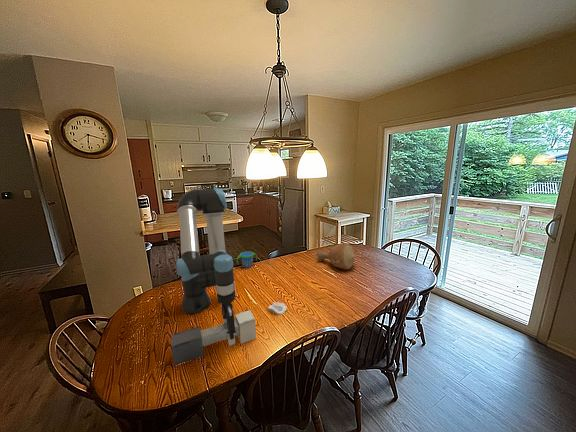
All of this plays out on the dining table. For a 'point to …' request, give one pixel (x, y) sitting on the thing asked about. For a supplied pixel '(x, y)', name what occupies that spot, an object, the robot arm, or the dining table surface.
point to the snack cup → (246, 258)
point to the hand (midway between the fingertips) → (229, 337)
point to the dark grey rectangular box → (187, 345)
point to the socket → (246, 326)
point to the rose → (278, 308)
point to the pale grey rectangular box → (217, 333)
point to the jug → (338, 256)
